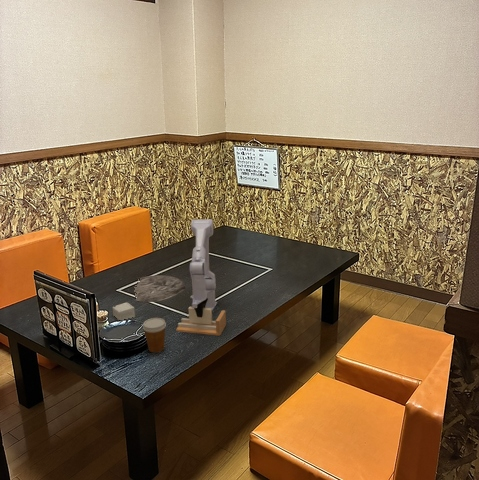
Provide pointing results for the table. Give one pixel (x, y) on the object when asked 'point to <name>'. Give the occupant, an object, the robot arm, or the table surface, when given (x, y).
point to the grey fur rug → (157, 288)
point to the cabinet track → (204, 326)
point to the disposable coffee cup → (155, 334)
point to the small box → (123, 311)
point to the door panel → (204, 320)
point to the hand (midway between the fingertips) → (200, 315)
